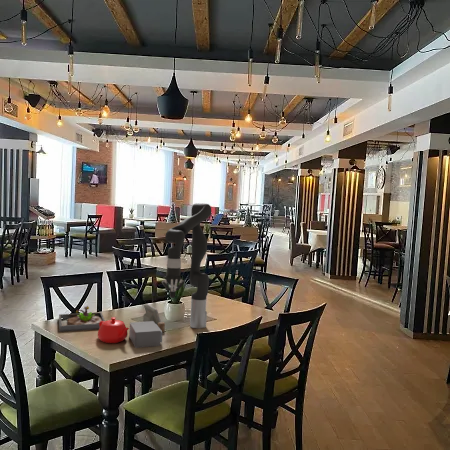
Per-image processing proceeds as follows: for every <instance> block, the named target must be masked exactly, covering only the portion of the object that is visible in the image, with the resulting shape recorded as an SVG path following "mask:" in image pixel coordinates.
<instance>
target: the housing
mask: <svg viewBox="0 0 450 450" xmlns="http://www.w3.org/2000/svg"><path fill="white" fill-rule="evenodd" d="M157 326H158V325H156V324H155V323H154V321H146V322H143V321H135V322H133V321H132V322H129V333H128V335H129V336H128V338H129V339H130V341H131V343H132V344H133V346H134V348H135V349H138V348H139V349H140V348H149V347H150V348H151V347H160V346H161V343H160V338H161V330H160V329H159V328H158V327H157Z"/></svg>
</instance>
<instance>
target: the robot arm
mask: <svg viewBox="0 0 450 450" xmlns="http://www.w3.org/2000/svg"><path fill="white" fill-rule="evenodd" d="M211 215H212V206H211V205H210V204H209V203H205V202H204V203H200V202H199V203H197V202H194V203H193V204H192V206H191V216H188V217H187V218H185V219H183V220H181V222H180V223H179V224H177V225H175V226H173V227H171V228H169V229H168V230H166V231H167V232H166V233H165V238H164V239H165V240H166V242H168V243H172V244H173V243H174V246H171V247H169V248H168V250H167V261H166V276H165V279H164V280H161V283H162V285H163V287H165V289H166V290H167V291H169V297H170V298H171V299H175V298H176V292H178V291H180V289H181V288H182V286H183V285H184V284H185V280H183V279H182V277H181V271H182V269H181V268H182V261H181V260H182V259H181V257H182V249H183V245H184V243H185V238H186V235H187V234H189V233H190V232H191V260H190V261H191V263H190V272H189V280H188V281H189V283H190V286H192V287H195V288H197V289H196V291H195V292H193V293H191V296H190V297H191V299H190V300H191V301H190V316H189V317H190V318H189V327H190V328H193V329H204V328H207V316H208V311H207V297H208V293H209V285H210V278H209V274H207V273H205V272H201V263H202V261H203V259H204V258H205V256H206V254H207V251H208V240H207V237H206V234H205V232H204V231H203V229H202V226H201V223H203V222H204V221H206V220H207V219H209V218H210V217H211Z"/></svg>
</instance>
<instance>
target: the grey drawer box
mask: <svg viewBox="0 0 450 450" xmlns="http://www.w3.org/2000/svg"><path fill="white" fill-rule="evenodd" d="M156 325H157V324H156ZM157 327H158V325H157ZM158 328H159V327H158ZM159 329H160V328H159ZM161 343H163V333H162V331H161V338H160V344H161Z"/></svg>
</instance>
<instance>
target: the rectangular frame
mask: <svg viewBox="0 0 450 450" xmlns="http://www.w3.org/2000/svg"><path fill="white" fill-rule="evenodd" d="M94 314H95V315H94ZM77 315H80V312H78V313H66V314H65V313H63V314H62V313H61V314H58V326H59V332H74V331H75V332H76V331H88V330H89V331H90V330H91V331H92V330H99V328H100V326H99V324H82V325H67V324H66V325H62V320H67V319H70V318H73V317H77ZM91 315H94V316H99V317H100V318H101V319H102V321H106V320H105V317H104V315H103V313H102V311H101V312H92V314H91ZM80 316H81V315H80ZM61 318H63V319H61Z"/></svg>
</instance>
